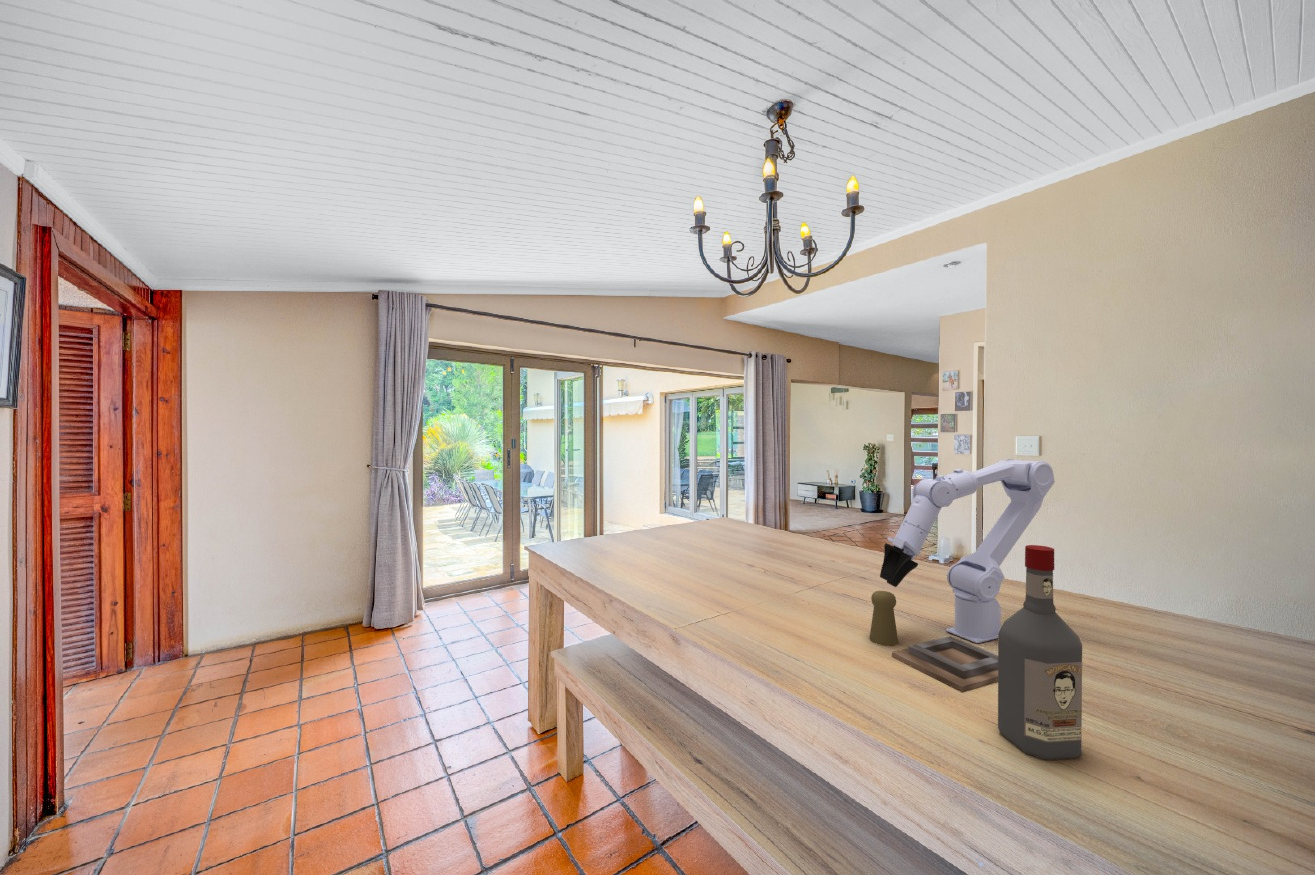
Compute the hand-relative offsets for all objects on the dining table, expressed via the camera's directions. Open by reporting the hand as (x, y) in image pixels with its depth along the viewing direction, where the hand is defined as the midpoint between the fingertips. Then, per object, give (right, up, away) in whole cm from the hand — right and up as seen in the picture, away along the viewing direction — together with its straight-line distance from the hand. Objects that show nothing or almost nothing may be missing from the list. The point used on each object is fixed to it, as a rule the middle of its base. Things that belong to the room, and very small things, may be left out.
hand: (887, 582), depth 116 cm
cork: (0, -14, +2) cm, 14 cm away
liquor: (+7, -15, -36) cm, 39 cm away
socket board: (+9, -14, -10) cm, 20 cm away
